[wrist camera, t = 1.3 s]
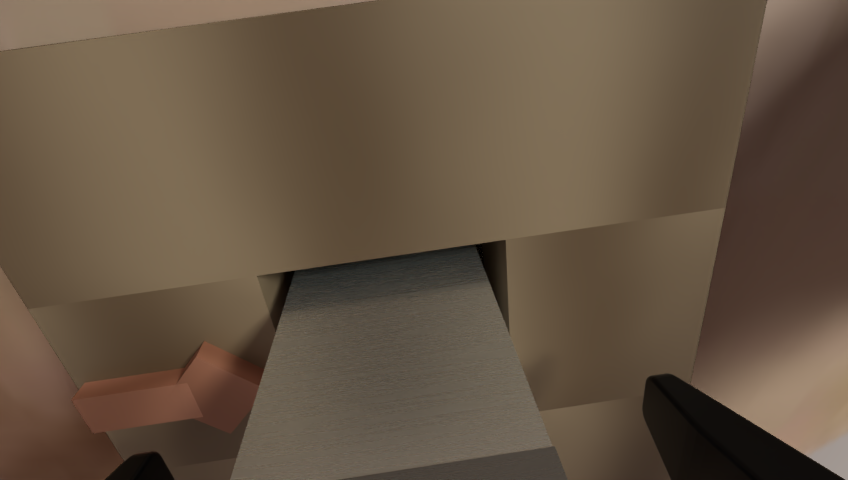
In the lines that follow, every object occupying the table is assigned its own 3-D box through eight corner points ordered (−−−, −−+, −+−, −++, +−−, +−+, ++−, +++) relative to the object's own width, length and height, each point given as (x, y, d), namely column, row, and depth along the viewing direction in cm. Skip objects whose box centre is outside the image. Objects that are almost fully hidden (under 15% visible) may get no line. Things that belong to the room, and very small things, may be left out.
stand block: (672, -40, 10) (803, -57, 7) (621, 418, 16) (676, 515, 13) (13, 49, 10) (-159, 73, 7) (225, 479, 16) (189, 592, 13)
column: (461, 205, 12) (572, 492, 5) (471, 328, 14) (564, 661, 7) (307, 228, 12) (206, 549, 5) (338, 348, 14) (297, 705, 7)
